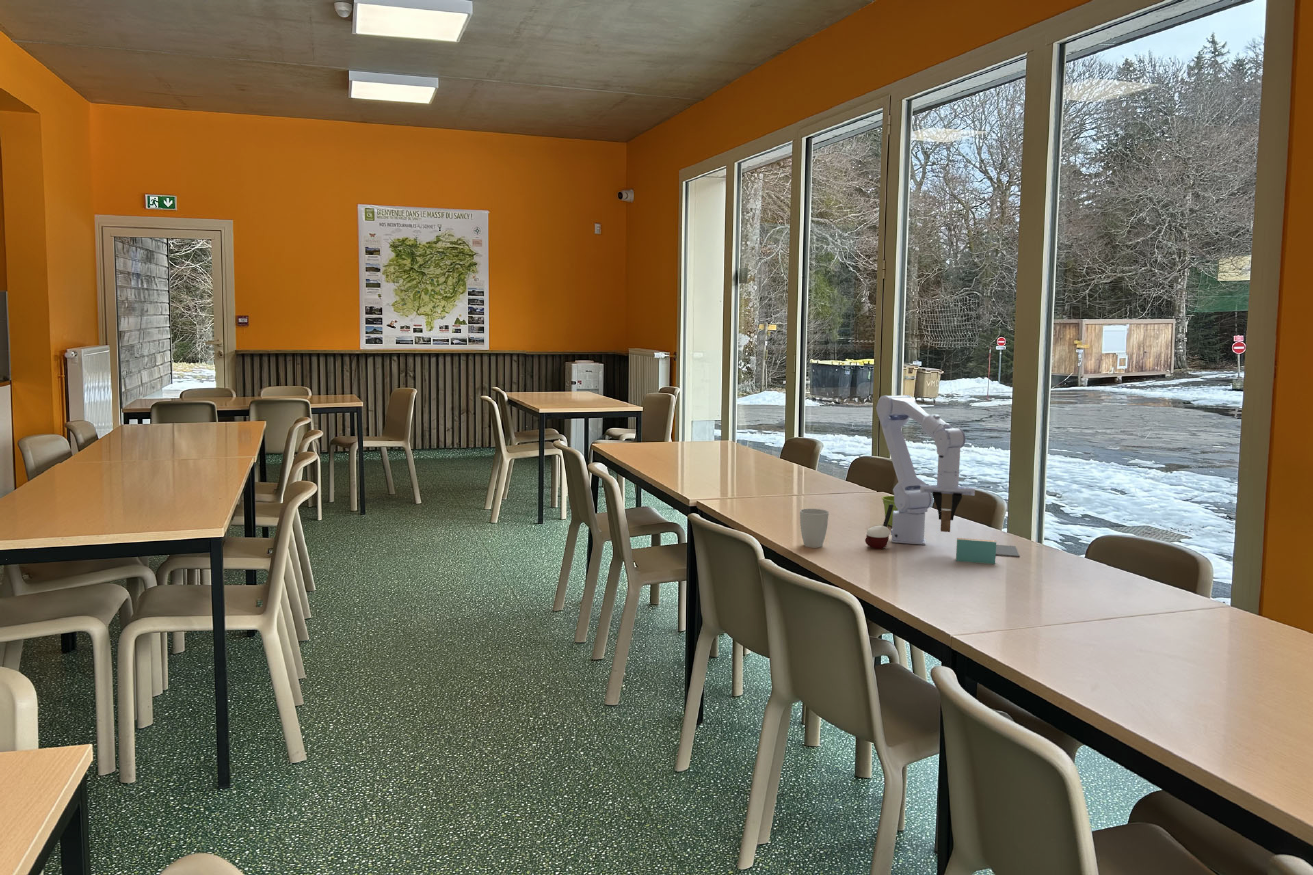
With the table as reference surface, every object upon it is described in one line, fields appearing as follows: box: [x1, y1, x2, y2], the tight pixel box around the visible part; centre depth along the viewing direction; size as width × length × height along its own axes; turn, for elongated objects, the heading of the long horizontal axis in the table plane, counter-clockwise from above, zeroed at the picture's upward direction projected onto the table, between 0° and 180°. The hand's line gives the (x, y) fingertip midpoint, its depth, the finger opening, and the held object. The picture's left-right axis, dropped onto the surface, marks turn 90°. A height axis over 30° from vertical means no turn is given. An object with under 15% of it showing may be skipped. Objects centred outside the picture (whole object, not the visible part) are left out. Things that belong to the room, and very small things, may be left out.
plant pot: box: [881, 495, 898, 527], centre depth 300 cm, size 9×9×9 cm
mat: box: [996, 544, 1020, 558], centre depth 269 cm, size 12×12×1 cm
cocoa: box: [864, 504, 893, 550], centre depth 270 cm, size 10×6×12 cm, turn 98°
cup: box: [799, 508, 830, 549], centre depth 271 cm, size 8×8×10 cm
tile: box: [955, 537, 997, 565], centre depth 256 cm, size 10×2×6 cm, turn 74°
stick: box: [940, 508, 952, 533], centre depth 264 cm, size 2×2×6 cm
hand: (945, 519), depth 265 cm, fingers closed on stick, 2 cm apart
